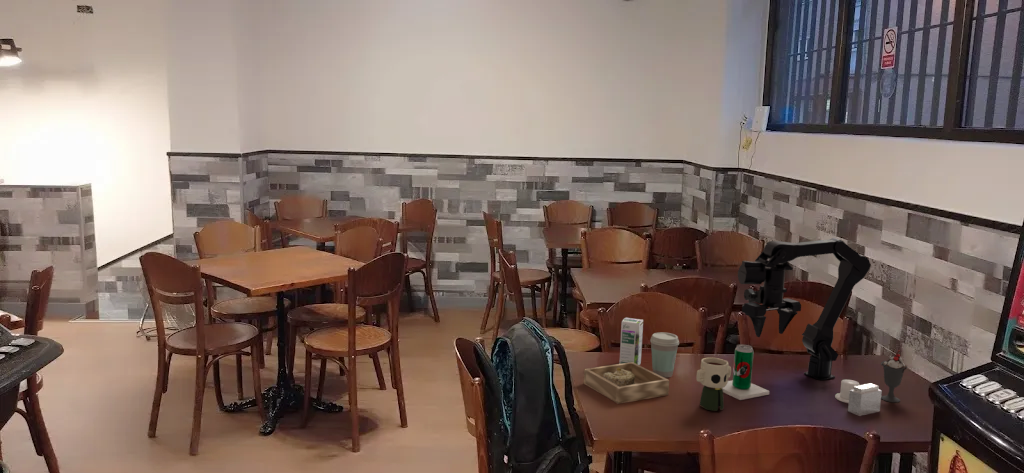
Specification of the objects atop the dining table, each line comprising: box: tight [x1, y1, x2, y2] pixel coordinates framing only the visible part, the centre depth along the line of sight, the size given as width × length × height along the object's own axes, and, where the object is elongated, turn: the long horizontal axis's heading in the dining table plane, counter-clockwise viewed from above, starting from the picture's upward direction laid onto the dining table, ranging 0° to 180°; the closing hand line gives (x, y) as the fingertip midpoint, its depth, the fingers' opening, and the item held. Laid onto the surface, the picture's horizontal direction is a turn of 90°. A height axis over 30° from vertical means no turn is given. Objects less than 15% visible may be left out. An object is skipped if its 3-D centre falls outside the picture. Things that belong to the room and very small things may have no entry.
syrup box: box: [618, 317, 644, 366], centre depth 235 cm, size 6×6×14 cm
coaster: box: [722, 379, 770, 401], centre depth 216 cm, size 11×11×1 cm
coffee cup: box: [650, 332, 680, 379], centre depth 227 cm, size 8×8×12 cm
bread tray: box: [583, 362, 670, 405], centre depth 214 cm, size 17×17×4 cm
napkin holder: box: [847, 382, 883, 417], centre depth 203 cm, size 8×4×7 cm, turn 117°
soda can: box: [732, 344, 754, 390], centre depth 215 cm, size 5×5×12 cm
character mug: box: [696, 357, 732, 412], centre depth 201 cm, size 11×7×13 cm, turn 113°
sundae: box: [880, 349, 908, 404], centre depth 212 cm, size 7×7×15 cm
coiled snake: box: [603, 368, 635, 387], centre depth 216 cm, size 10×10×5 cm
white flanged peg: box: [834, 379, 860, 404], centre depth 212 cm, size 7×7×5 cm
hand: (769, 335), depth 227 cm, fingers open, 9 cm apart
